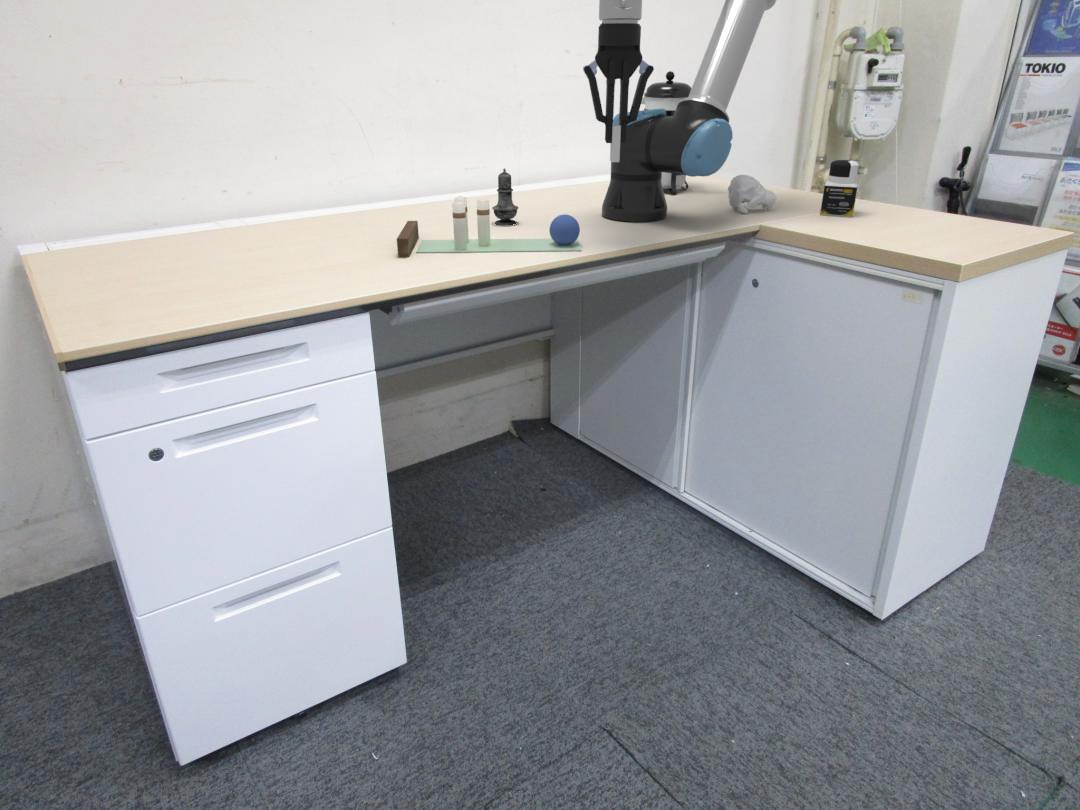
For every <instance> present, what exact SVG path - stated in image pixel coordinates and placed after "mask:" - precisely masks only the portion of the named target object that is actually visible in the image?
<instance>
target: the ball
mask: <svg viewBox="0 0 1080 810" xmlns="http://www.w3.org/2000/svg"><path fill="white" fill-rule="evenodd" d="M580 229H581V227H580V223H579V222H578V220H577V219H576V218H575V217H574V216H571V215H569V214H561V215H557V216H556V217H554V219H553V220H552V221H551V223H550V225H549V235H550V239H551V238H552V239H553V241H554V242H556V243H557V244H559V245H570V244H572V243H574V242H575V241H576V240H577V238H578V239H579V236H580V233H581V232H580V231H581V230H580Z"/></svg>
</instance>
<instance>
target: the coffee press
mask: <svg viewBox="0 0 1080 810" xmlns="http://www.w3.org/2000/svg"><path fill="white" fill-rule="evenodd" d="M665 77H666V81H664V82H663V81H662V82H653V83H651V84H650V85H649V86H647V88H646V90H645V92H644V94H643V98H642V102H641V105H644V109H643V110H652V109H665V111H666V116H673V115H674V113H675V110H676V108H677V105H678V103H679V102H680V101H681V100H683V99H686V98H688V96H689V94H690V91H691V89H692V86H691V85H689V84H688V83H685V82H680V81H679V82H677V81H674V80H675V79H674V78H675V73H674V71H672V70H671V71H668V72H666V74H665ZM686 179H687V175H681V174H673V173H665V172H662V177H661V183H662V187H663V189H666V190H668V191H669V195H670V196H675V195H678V194H677V193H678V188H681V189H683V190H688V189H689V184H688V181H687V180H686ZM684 185H685V187H684Z"/></svg>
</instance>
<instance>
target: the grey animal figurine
mask: <svg viewBox="0 0 1080 810" xmlns="http://www.w3.org/2000/svg"><path fill="white" fill-rule="evenodd" d="M727 191H728V200H729V201H728V202H729V204H730V207H731V209H732V210H734V211H738V212H739V213H740V214H742V215H747V214H748V210H747V209H746V207H744V206H743V204H745V203H747V208H748V209H751V208H753V207H756V206H762V207H761V209H763V211H770V210H771V209H772V207H773V206H774V205H776V203H777V195H776V194H775V192H773V191H772V190H768V189H766V188H765V187H764V185H763V184H761V182H760V181H759V180H758V179H756V178H755V177H753V176H751V175H747V174H738V175H735V176H734V177H732V179H731V180H730V183H729V186H728V187H727Z"/></svg>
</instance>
